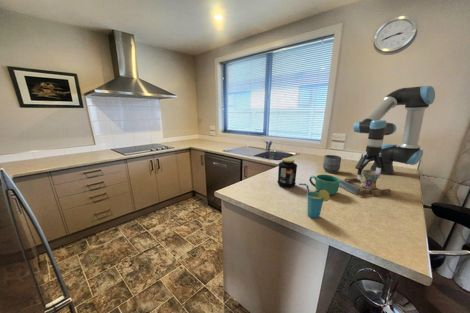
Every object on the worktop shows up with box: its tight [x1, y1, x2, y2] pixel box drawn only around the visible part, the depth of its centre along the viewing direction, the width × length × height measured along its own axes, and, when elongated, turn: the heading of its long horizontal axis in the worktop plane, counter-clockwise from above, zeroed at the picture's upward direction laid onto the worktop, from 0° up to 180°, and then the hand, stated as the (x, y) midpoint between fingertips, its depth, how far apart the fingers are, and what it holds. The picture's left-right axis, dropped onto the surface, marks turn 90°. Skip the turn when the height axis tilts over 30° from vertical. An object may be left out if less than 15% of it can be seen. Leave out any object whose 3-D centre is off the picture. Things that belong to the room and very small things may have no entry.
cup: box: [298, 183, 331, 220], centre depth 84 cm, size 14×8×15 cm, turn 54°
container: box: [277, 157, 298, 188], centre depth 120 cm, size 12×12×18 cm
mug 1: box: [309, 174, 340, 196], centre depth 111 cm, size 17×13×10 cm
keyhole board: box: [338, 177, 392, 199], centre depth 116 cm, size 21×21×4 cm
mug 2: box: [361, 169, 382, 190], centre depth 116 cm, size 12×9×11 cm
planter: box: [322, 154, 342, 174], centre depth 149 cm, size 12×12×13 cm
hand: (368, 178), depth 116 cm, fingers open, 13 cm apart
